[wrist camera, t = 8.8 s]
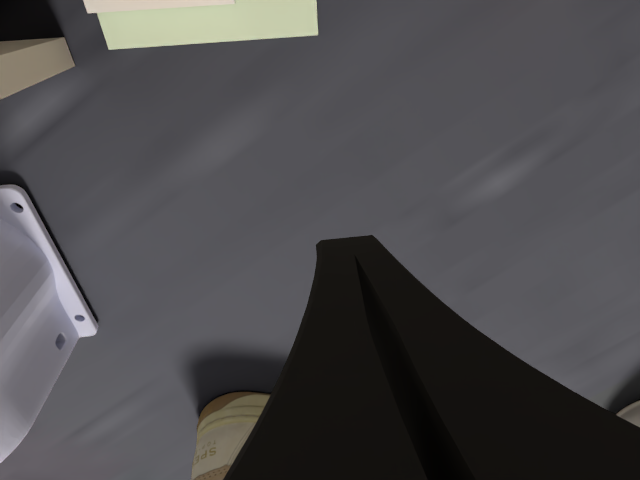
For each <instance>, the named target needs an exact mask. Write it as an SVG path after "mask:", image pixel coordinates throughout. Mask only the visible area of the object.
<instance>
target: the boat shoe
mask: <svg viewBox="0 0 640 480" xmlns="http://www.w3.org/2000/svg"><path fill="white" fill-rule="evenodd" d="M270 395H271V394H265V393H256V392H233V393H229V394H225V395H222V396H220V397H218V398H216V399H214V400H213V401H211V402H210V403H209V404H208V405H207V406H206V407H205V408H204V409H203V410H202V412H201V414H200V417H199V421H198V425H197V448H196V451H195V455H194V460H193V465H192V476H191V480H223V479H224V477H225V475H226V474H227V472H228V470H229V469H230V467H231V465H232V463H233V462H234V460H235V458H236V457H237V455H238V453H239V452H240V450H241V448H242V447H243V445H244V443H245V441H246V440H247V438H248V436H249V435H250V433H251V431H252V429H253V428H254V426H255V424H256V422H257V420H258V418H259V417H260V415H261V413H262V411H263V409H264V407H265V405H266V403H267V401H268V399H269V397H270Z"/></svg>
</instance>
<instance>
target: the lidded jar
mask: <svg viewBox="0 0 640 480" xmlns="http://www.w3.org/2000/svg"><path fill="white" fill-rule="evenodd" d="M616 415H617V416H619V417H621V418H623V419H625V420H627V421H629V422H630V423H632V424H634V425H636V426H638V427H640V400H639V401H636V402H634V403H632V404H630V405H628V406H626V407H625V408H623V409H622V410H620V411H619V412H618V413H617V414H616Z"/></svg>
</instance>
